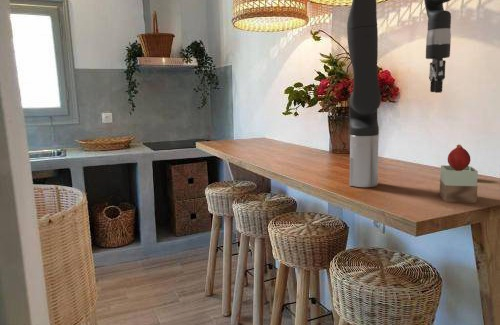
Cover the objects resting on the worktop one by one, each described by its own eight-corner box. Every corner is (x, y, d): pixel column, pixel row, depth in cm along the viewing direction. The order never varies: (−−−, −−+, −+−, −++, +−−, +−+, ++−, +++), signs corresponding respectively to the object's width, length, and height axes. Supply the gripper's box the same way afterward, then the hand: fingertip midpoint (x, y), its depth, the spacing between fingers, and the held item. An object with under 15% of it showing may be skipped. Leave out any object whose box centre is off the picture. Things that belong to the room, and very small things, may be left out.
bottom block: (445, 202, 113) (446, 185, 112) (439, 194, 120) (440, 178, 119) (476, 203, 111) (477, 186, 110) (468, 195, 118) (469, 179, 117)
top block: (445, 185, 112) (445, 170, 111) (440, 178, 119) (440, 165, 119) (476, 186, 110) (477, 171, 109) (469, 179, 117) (470, 165, 116)
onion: (450, 170, 118) (451, 143, 117) (472, 171, 114) (473, 143, 113) (444, 172, 114) (445, 144, 113) (466, 174, 110) (468, 145, 109)
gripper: (422, 46, 142) (421, 92, 145) (429, 42, 128) (427, 93, 131) (445, 45, 140) (443, 91, 143) (455, 40, 126) (452, 92, 129)
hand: (435, 92), depth 137 cm, fingers open, 8 cm apart
